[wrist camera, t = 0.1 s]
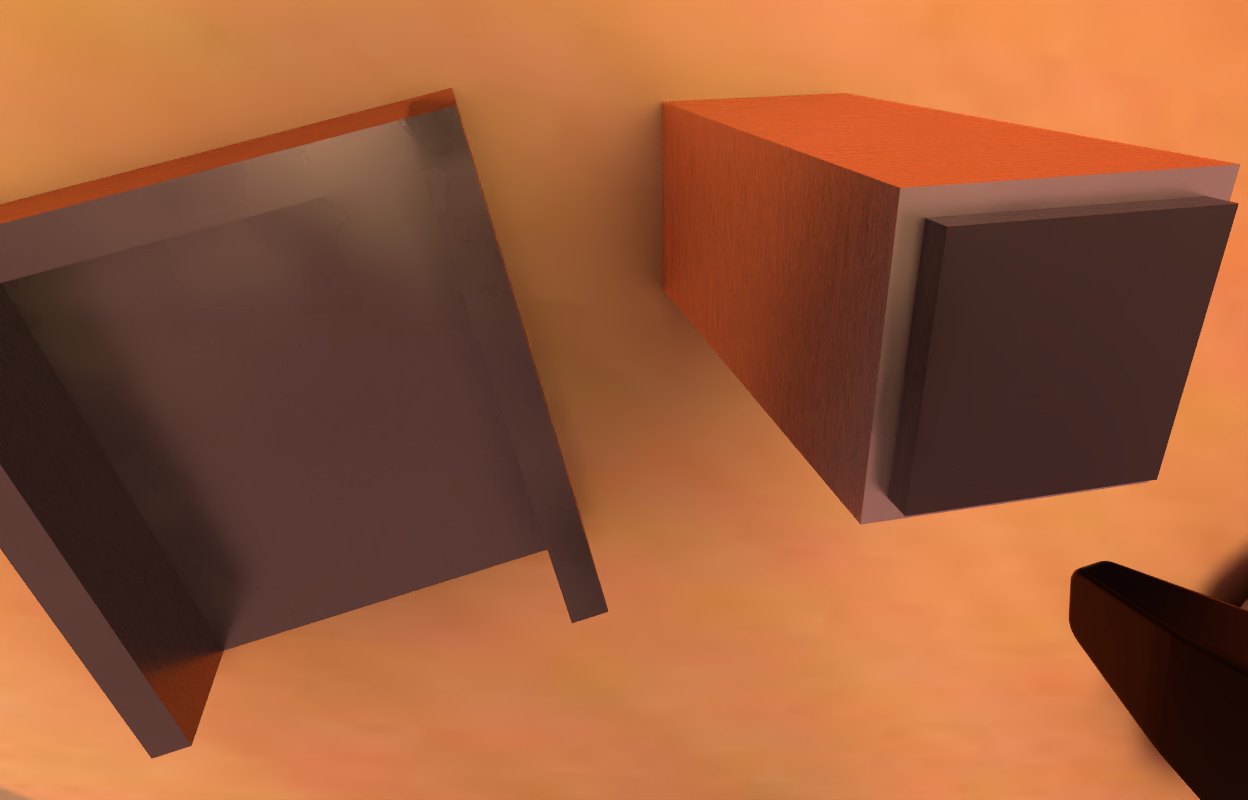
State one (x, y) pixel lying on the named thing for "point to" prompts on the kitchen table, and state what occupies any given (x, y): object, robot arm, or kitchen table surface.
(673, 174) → the block
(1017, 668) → the kitchen table surface
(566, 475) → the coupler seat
